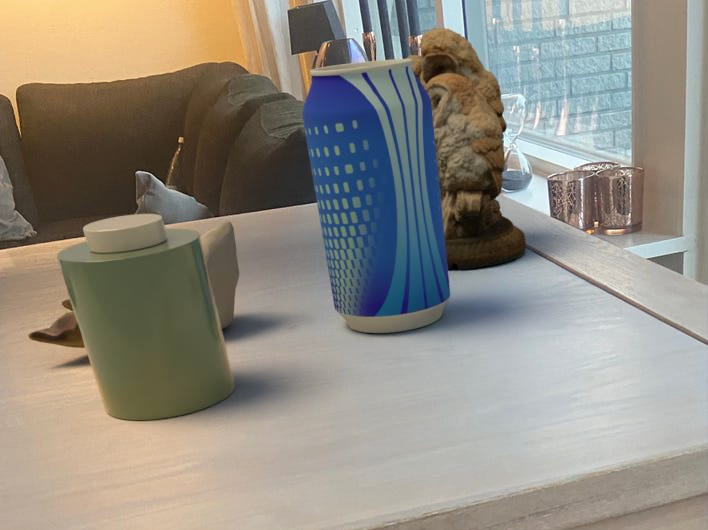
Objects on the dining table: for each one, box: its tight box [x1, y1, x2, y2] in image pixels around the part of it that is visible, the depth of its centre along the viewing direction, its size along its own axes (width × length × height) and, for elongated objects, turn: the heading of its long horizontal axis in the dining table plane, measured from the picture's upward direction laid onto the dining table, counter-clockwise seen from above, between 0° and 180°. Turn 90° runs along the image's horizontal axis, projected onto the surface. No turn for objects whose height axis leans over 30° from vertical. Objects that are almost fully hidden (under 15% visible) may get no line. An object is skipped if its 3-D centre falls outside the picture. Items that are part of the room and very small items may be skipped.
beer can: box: [302, 58, 451, 334], centre depth 65 cm, size 8×8×16 cm
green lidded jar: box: [56, 213, 236, 421], centre depth 57 cm, size 8×8×10 cm
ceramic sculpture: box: [27, 214, 240, 349], centre depth 69 cm, size 11×9×15 cm
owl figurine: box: [405, 27, 527, 270], centre depth 82 cm, size 18×12×17 cm, turn 28°
